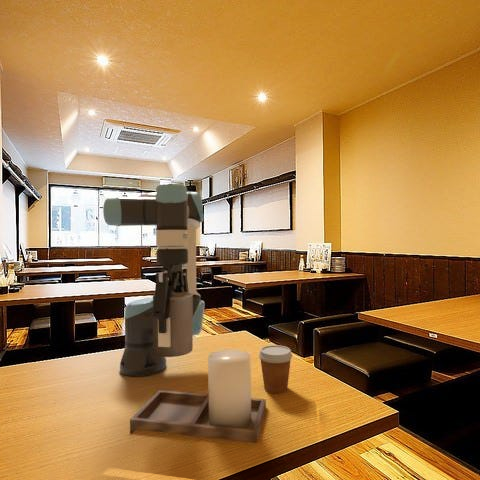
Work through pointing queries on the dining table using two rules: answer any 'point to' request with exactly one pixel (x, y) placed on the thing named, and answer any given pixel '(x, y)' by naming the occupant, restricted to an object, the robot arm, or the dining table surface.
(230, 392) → the ivory candle
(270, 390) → the disposable coffee cup
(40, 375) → the dining table surface
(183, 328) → the pillar candle
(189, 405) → the candle tray
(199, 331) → the robot arm
